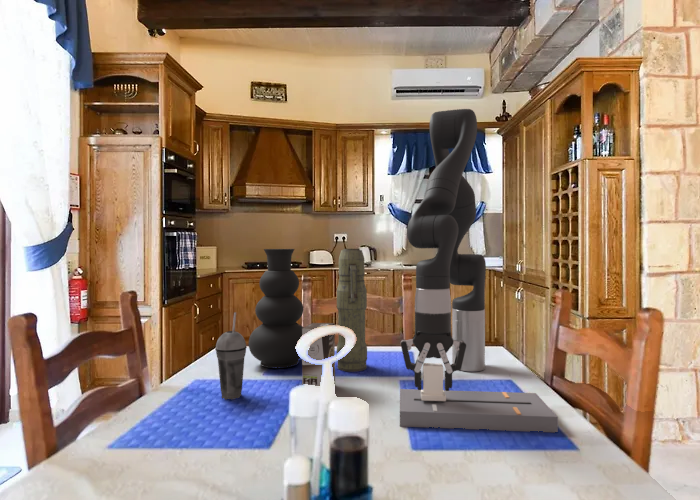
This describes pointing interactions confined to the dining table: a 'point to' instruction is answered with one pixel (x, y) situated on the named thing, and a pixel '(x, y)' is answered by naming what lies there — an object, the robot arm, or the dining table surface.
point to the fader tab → (433, 382)
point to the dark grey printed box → (317, 355)
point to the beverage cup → (231, 362)
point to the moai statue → (352, 308)
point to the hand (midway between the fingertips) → (432, 389)
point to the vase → (277, 313)
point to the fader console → (478, 411)
